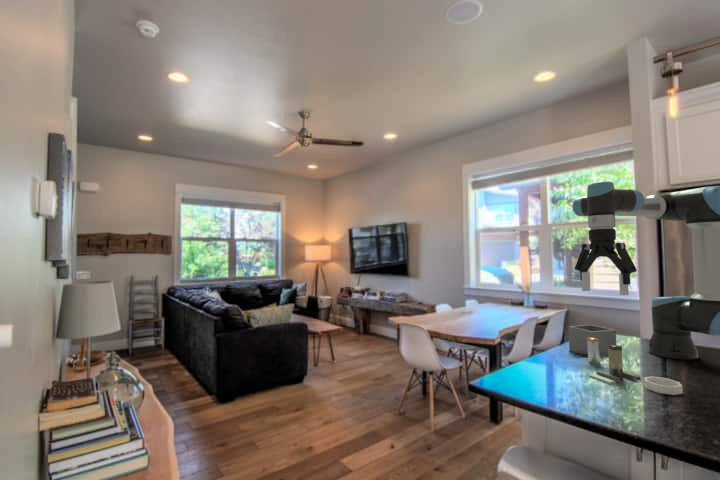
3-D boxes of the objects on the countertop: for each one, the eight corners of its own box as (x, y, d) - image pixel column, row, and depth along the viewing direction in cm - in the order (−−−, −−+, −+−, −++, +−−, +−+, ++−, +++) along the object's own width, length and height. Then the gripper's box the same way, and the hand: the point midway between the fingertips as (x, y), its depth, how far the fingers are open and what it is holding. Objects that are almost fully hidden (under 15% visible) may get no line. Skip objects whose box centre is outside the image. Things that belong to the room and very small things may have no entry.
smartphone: (610, 352, 150) (610, 349, 150) (596, 359, 141) (596, 356, 141) (588, 348, 157) (588, 345, 157) (574, 355, 147) (574, 352, 147)
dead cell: (615, 375, 117) (613, 344, 117) (626, 379, 114) (624, 347, 114) (606, 376, 116) (605, 345, 116) (617, 380, 113) (615, 347, 113)
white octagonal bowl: (658, 387, 110) (657, 375, 110) (689, 397, 102) (688, 384, 103) (638, 390, 108) (637, 378, 108) (667, 401, 100) (667, 388, 100)
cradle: (618, 375, 121) (617, 366, 122) (649, 385, 112) (648, 375, 112) (585, 379, 118) (584, 370, 118) (614, 391, 108) (613, 380, 108)
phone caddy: (591, 347, 156) (590, 324, 156) (616, 355, 145) (615, 329, 145) (569, 350, 153) (568, 326, 153) (593, 357, 142) (592, 332, 142)
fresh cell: (593, 364, 134) (592, 337, 134) (602, 367, 130) (601, 339, 130) (585, 365, 133) (584, 337, 133) (594, 368, 129) (593, 340, 130)
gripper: (562, 231, 131) (564, 289, 131) (630, 225, 107) (633, 297, 107) (578, 231, 133) (580, 288, 133) (649, 225, 109) (652, 296, 109)
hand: (604, 292), depth 120 cm, fingers open, 13 cm apart
